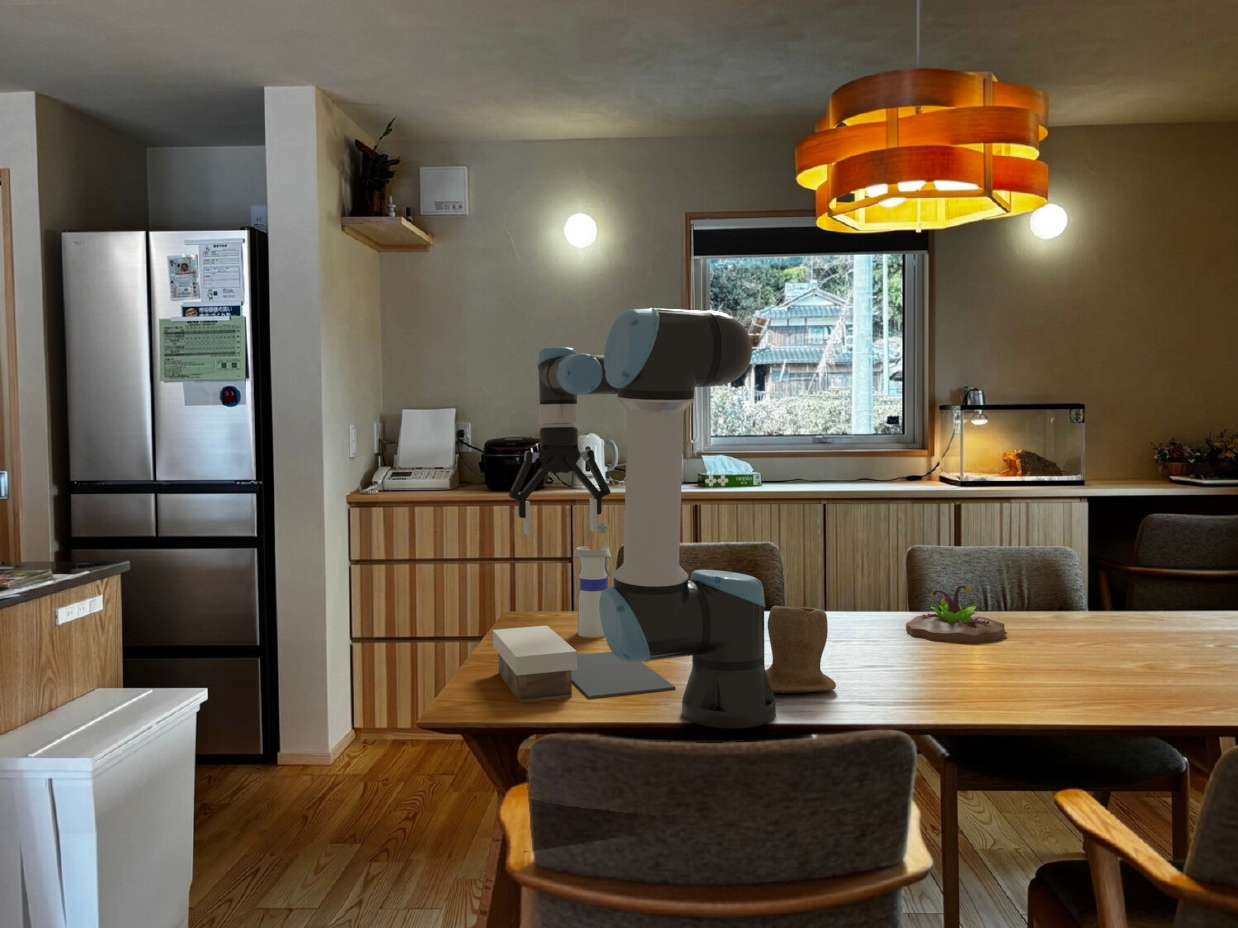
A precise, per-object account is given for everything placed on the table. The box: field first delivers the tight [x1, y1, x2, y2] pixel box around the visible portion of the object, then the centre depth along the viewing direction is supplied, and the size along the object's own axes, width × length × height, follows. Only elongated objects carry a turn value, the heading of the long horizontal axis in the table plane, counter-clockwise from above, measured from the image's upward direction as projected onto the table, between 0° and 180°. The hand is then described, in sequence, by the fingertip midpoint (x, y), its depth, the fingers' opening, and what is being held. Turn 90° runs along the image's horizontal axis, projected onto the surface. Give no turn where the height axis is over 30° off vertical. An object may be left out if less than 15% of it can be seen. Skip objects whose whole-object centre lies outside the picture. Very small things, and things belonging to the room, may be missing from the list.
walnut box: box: [497, 652, 573, 704], centre depth 173 cm, size 20×9×7 cm, turn 18°
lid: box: [492, 625, 578, 675], centre depth 173 cm, size 22×11×3 cm, turn 18°
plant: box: [905, 584, 1006, 645], centre depth 209 cm, size 20×20×11 cm
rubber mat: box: [571, 651, 676, 700], centre depth 180 cm, size 28×16×1 cm, turn 18°
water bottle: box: [572, 520, 612, 639], centre depth 213 cm, size 8×9×25 cm
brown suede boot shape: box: [765, 605, 837, 694], centre depth 168 cm, size 15×12×15 cm
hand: (560, 532), depth 190 cm, fingers open, 13 cm apart
